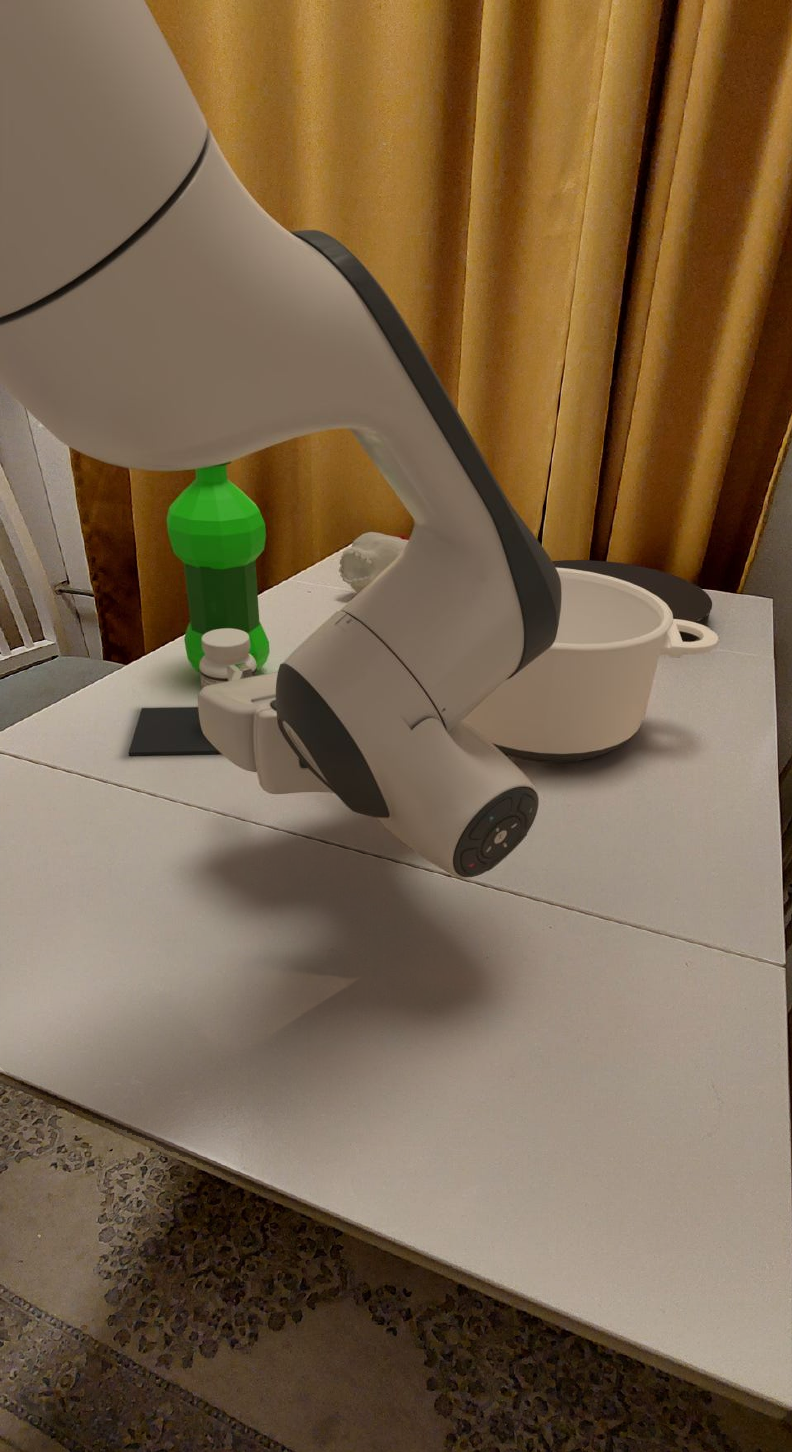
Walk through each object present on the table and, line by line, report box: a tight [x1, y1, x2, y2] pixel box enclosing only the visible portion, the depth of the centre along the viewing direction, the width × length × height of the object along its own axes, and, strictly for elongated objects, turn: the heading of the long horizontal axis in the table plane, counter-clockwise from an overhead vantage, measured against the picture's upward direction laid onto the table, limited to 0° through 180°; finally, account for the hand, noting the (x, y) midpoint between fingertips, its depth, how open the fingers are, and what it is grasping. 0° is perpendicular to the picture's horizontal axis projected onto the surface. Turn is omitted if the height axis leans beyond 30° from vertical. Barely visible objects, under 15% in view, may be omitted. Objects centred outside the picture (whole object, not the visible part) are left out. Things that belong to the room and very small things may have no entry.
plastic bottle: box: [165, 461, 271, 674], centre depth 92 cm, size 10×10×25 cm
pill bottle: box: [199, 628, 258, 689], centre depth 85 cm, size 6×6×10 cm
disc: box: [552, 559, 713, 642], centre depth 121 cm, size 30×30×3 cm
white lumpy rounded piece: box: [338, 531, 410, 594], centre depth 121 cm, size 9×11×15 cm
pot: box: [462, 567, 719, 763], centre depth 88 cm, size 33×23×14 cm
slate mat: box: [128, 706, 222, 757], centre depth 88 cm, size 20×10×1 cm, turn 96°
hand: (287, 662), depth 71 cm, fingers open, 8 cm apart
